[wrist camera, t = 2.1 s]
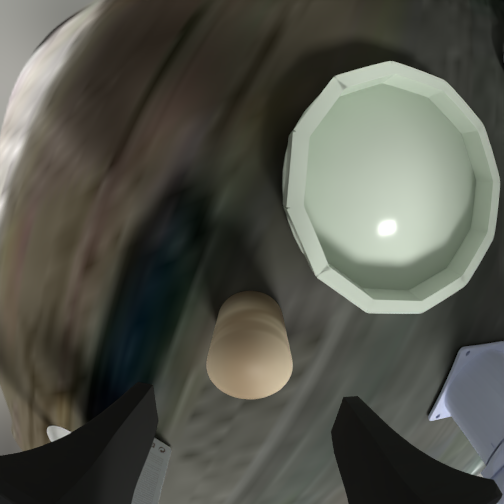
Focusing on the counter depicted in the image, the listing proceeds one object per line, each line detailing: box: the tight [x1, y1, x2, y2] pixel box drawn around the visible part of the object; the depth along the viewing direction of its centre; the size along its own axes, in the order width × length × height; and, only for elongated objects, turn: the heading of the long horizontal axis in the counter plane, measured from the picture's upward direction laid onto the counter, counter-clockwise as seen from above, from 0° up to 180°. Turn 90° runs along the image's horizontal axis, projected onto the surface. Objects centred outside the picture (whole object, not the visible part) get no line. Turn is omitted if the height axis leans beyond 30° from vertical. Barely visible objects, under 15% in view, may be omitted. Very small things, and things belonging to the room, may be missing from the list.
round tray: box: [282, 61, 500, 314], centre depth 15 cm, size 14×14×3 cm
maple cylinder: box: [206, 291, 293, 399], centre depth 15 cm, size 4×4×5 cm
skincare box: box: [131, 438, 171, 504], centre depth 15 cm, size 6×4×12 cm
